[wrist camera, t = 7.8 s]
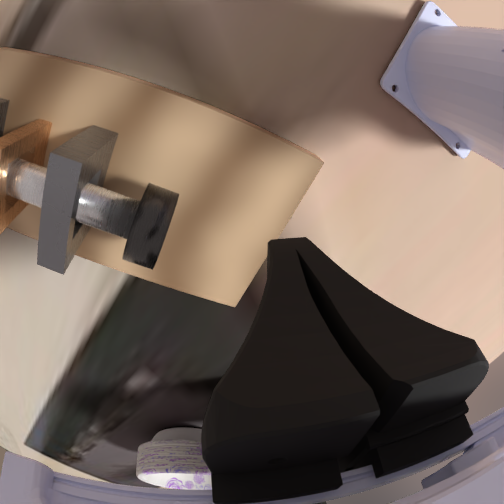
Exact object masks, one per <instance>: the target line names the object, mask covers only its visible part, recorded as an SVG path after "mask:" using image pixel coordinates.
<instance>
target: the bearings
mask: <svg viewBox="0 0 504 504" xmlns="http://www.w3.org/2000/svg"><path fill="white" fill-rule="evenodd" d="M9 101H10V100H7V99H3V98H0V234H1V233H2V232H3V231H4V230H5V229H6V227H7V226H8V225H9V224H10V223H11V222H12V221H13V220H14V219H15V218H16V217H17V216H18V215H19V214H20V213H21V212H22V211H23V210H24V209H25V208H26V206H27V205H28V204H29V203H27V202H24V201H22V200H19V199H17V198H14V197H12V196H9V195H6V182H7V172H8V164H9V163H11V162H12V161H14V160H15V159H17V158H18V157H20V159H23V160H26V161H28V162H31V163H34V164H37V165H40V166H43V165H44V159H45V154H46V149H47V144H48V140H49V135H50V131H51V127H52V122H49V121H46V120H42V119H38V120H35V121H33V122H31V123H29V124H27V125H24V126H22V127H20V128H18V129H16V130H14V131H12V132H10V133H8V134H6V135H4V136H3V132H4V126H5V121H6V115H7V110H8V106H9ZM118 134H119V133H117V132H114V131H111V130H108V129H105V128H102V127H99V126H96V125H93V126H91V127H89V128H88V129H86V130H84V131H83V132H81V133H79V134H78V135H76V136H75V137H73V138H71V139H70V140H68V141H67V142H65V143H64V144H62V145H61V146H59V147H58V148H56V149H55V150H53V151H52V152H50V156H49V161H48V166H47V172H46V178H45V184H44V191H43V199H42V207H41V216H40V226H39V239H38V257H37V264H38V265H41V266H43V267H46V268H48V269H51V270H53V271H56V272H58V273H61V274H63V275H64V273H65V271H66V269H67V268H68V266H69V264H70V262H71V260H72V259H73V257H74V255H75V253H76V252H77V250H78V248H79V247H80V245H81V243H82V241H83V240H84V238H85V237H86V235H87V233H88V232H89V230H90V228H91V226H88V225H85V224H83V223H80V222H77V221H75V220H76V215H77V210H78V205H79V200H80V195H81V190H82V189H83V188H84V187H85V186H86V185H87V184H88V183H91V184H94V185H97V186H99V187H103V184H104V180H105V176H106V173H107V169H108V166H109V163H110V159H111V156H112V153H113V150H114V146H115V143H116V140H117V137H118Z"/></svg>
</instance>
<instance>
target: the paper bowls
mask: <svg viewBox="0 0 504 504" xmlns="http://www.w3.org/2000/svg"><path fill="white" fill-rule="evenodd" d="M201 433H202V429H198V428H189V427H177V428H169V429H165V430H162V431H160V432H158V433H157V434H156V435H155V436H154V437H153V439H152V441H149V442H146V443H142V444H141V445H140V446H139V447H138V453H137V469H136V471H137V472H136V475H137V477H138V478H139V479H140V480H142V481H144V482H147V483H150V484H153V485H157V486H161V487H166V488H173V489H186V490H211V489H212V483H211V472H210V470H209V468H208V467H207V465H206V463H205V462H204V460H203V458H202V445H201Z"/></svg>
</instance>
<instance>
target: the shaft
mask: <svg viewBox="0 0 504 504" xmlns="http://www.w3.org/2000/svg"><path fill="white" fill-rule="evenodd" d="M46 172H47V168H46V167H43V166H40V165H37V164H34V163H31V162H28V161H26V160H23V159H20V158H17V159H15V160H14V161H12V162H11V163H9V164H8V172H7V182H6V195H9V196H12V197H14V198H17V199H19V200H22V201H24V202H27V203H30V204H32V205H35V206H37V207H40V208H41V207H42V199H43V191H44V184H45V178H46ZM178 198H179V193H176V192H173V191H170V190H168V189H165V188H162V187H160V186H157V185H154V184H151V183H149V184H148V185H147V187H146V189H145V192H144V194H143V196H142V199H141V201H139V200H136V199H133V198H130V197H127V196H125V195H122V194H119V193H116V192H113V191H111V190H108V189H105V188H102V187H99V186H97V185H94V184H91V183H88V184H87V185H86V186H85V187H84V188H83V189H82V190H81V195H80V200H79V205H78V210H77V215H76V220H75V221H77V222H80V223H83V224H85V225H88V226H91V227H94V228H96V229H99V230H102V231H105V232H108V233H110V234H113V235H116V236H119V237H122V238H124V239H127V241H126V245H125V249H124V253H123V257H122V259H123V260H126V261H128V262H131V263H134V264H137V265H140V266H143V267H146V268H149V269H152V270H153V268H154V266H155V264H156V262H157V259H158V256H159V254H160V251H161V248H162V246H163V243H164V240H165V237H166V234H167V231H168V229H169V226H170V223H171V220H172V217H173V214H174V211H175V208H176V205H177V201H178Z"/></svg>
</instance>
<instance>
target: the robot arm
mask: <svg viewBox="0 0 504 504" xmlns="http://www.w3.org/2000/svg"><path fill="white" fill-rule="evenodd" d="M435 10H436V12H437V15H436V14H435ZM380 85H381V88H382V89H383V90H384V91H386V92H387V93H388V94H390V95H391V96H392V97H394V98H395V99H396V100H397V101H399V102H400V103H401V104H402V105H404V106H405V107H406V108H407V109H408V110H410V111H411V112H412V113H413V114H414V115H415V116H417V117H418V118H419V119H420V120H421V121H422V122H423V123H425V124H426V125H427V126H428V127H429V128H430V129H431V130H432V131H433V132H435V133H436V134H437V135H438V136H439V137H440V138H441V139H442V140H443V141H444V142H445V143H446V144H447V145H448V146H449V147H450V148H451V149H452V150H453V151H454V152H455V153H456V154H457V155H458V156H459V157H461V158H463V159H464V158H466V157H467V156H468V154H469V152H470V151H471V150H472V151H474V152H476V153H477V154H479V155H481V156H483V157H484V158H486V159H488V160H490V161H491V162H493V163H495V164H496V165H498V166H500V167H501V168H503V169H504V30H503V29H494V28H482V27H463V26H457V25H456V24H455V23H454V22H453V21H452V20H451V19H450V18H449V17H448V16H447V15H446V14H445V13H444V12H443V11H442V10H441V9H440V8H439V7H438V6H437V5H436V4H435V3H433V2H431V1H427V2H425V3H424V4H423V6H422V8H421V10H420V12H419V13H418V15H417V17H416V19H415V21H414V22H413V24H412V26H411V28H410V29H409V31H408V33H407V35H406V36H405V38H404V40H403V42H402V44H401V45H400V47H399V49H398V51H397V52H396V54H395V56H394V57H393V59H392V61H391V63H390V64H389V66H388V68H387V70H386V71H385V73H384V75H383V76H382V78H381V81H380ZM393 85H395V87H396V89H395V91H394V92H393V91H392V86H393ZM456 143H457V146H456ZM488 368H489V363H488V361H487V360H486V358H485V356H484V355H483V353H482V352H481V350H480V348H479V347H478V345H477V343H476V342H475V340H473V339H470V338H468V337H465V336H462V335H459V334H456V333H453V332H450V331H447V330H444V329H442V328H439V327H437V326H435V325H432V324H430V323H428V322H425V321H423V320H421V319H419V318H417V317H415V316H413V315H411V314H409V313H407V312H405V311H404V310H402V309H400V308H398V307H396V306H394V305H393V304H391V303H389V302H388V301H386V300H384V299H383V298H381V297H380V296H378V295H377V294H375V293H374V292H372V291H371V290H369V289H368V288H366V287H365V286H363V285H362V284H361V283H360V282H358V281H357V280H356V279H354V278H353V277H352V276H350V275H349V274H348V273H347V272H345V271H344V270H343V269H342V268H340V267H339V266H338V265H337V264H336V263H335V262H333V261H332V260H331V259H330V258H329V257H328V256H327V255H326V254H324V253H323V252H322V251H321V250H320V249H319V248H318V247H317V246H316V245H314V244H313V243H312V242H311V241H310V240H309V239H308V238H306V237H301V238H286V239H272V240H270V241H269V242H268V249H267V282H266V286H265V289H264V293H263V297H262V300H261V303H260V306H259V309H258V312H257V314H256V317H255V319H254V321H253V324H252V326H251V328H250V331H249V333H248V335H247V337H246V339H245V341H244V343H243V344H242V346H241V348H240V350H239V351H238V353H237V355H236V357H235V358H234V360H233V362H232V363H231V365H230V367H229V368H228V369H227V371H226V372H225V374H224V375H223V377H222V378H221V380H220V381H219V382H218V384H217V385H216V387H215V388H214V390H213V393H212V396H211V399H210V402H209V405H208V408H207V411H206V414H205V417H204V421H203V426H202V433H201V445H202V458H203V460H204V462H205V463H206V465H207V467H208V468H209V470H210V472H211V483H212V489H211V490H186V489H162V488H148V487H137V486H129V485H121V484H114V483H107V482H101V481H95V480H90V479H85V478H80V477H75V476H71V475H66V474H62V473H58V472H54V471H53V470H52V469H51V468H49V467H48V466H46V465H44V464H42V463H40V462H38V461H36V460H33V459H30V458H27V457H24V456H21V455H18V454H15V453H12V452H9V451H7V452H5V457H4V461H3V466H2V472H1V478H0V504H315V503H320V502H325V501H329V500H334V499H338V498H341V497H346V496H350V495H353V494H357V493H361V492H364V491H367V490H370V489H374V488H377V487H380V486H383V485H386V484H389V483H392V482H395V481H397V480H400V479H403V478H405V477H408V476H411V475H413V474H416V473H418V472H420V471H423V470H425V469H428V468H430V467H432V466H434V465H437V464H438V463H441V462H443V461H445V460H447V459H449V458H451V457H453V456H455V455H457V454H459V453H461V452H463V451H464V453H463V455H461V456H460V457H458V458H456V459H454V460H453V461H451V462H450V463H448V464H447V465H446V466H445V467H443V468H442V469H440V470H439V471H437V472H436V473H433V474H432V475H430V476H428V477H426V478H425V479H423V480H422V482H421V483H422V486H423V490H421V491H418V492H416V493H414V494H411V495H409V496H407V497H404V498H401V499H399V500H396V501H394V502H391V503H388V504H504V407H502V408H501V409H499V410H497V411H496V412H494V413H492V414H490V415H489V416H487V417H485V418H483V419H481V420H480V421H478V422H476V423H474V424H472V425H469V423H468V421H467V419H466V416H465V414H466V413H467V412H468V410H469V408H468V406H467V404H466V402H465V400H466V399H467V398H468V397H469V396H470V395H471V393H472V392H473V391H474V390H475V389H476V388H477V387H478V385H479V384H480V383H481V382H482V380H483V379H484V377H485V375H486V374H487V372H488Z"/></svg>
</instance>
